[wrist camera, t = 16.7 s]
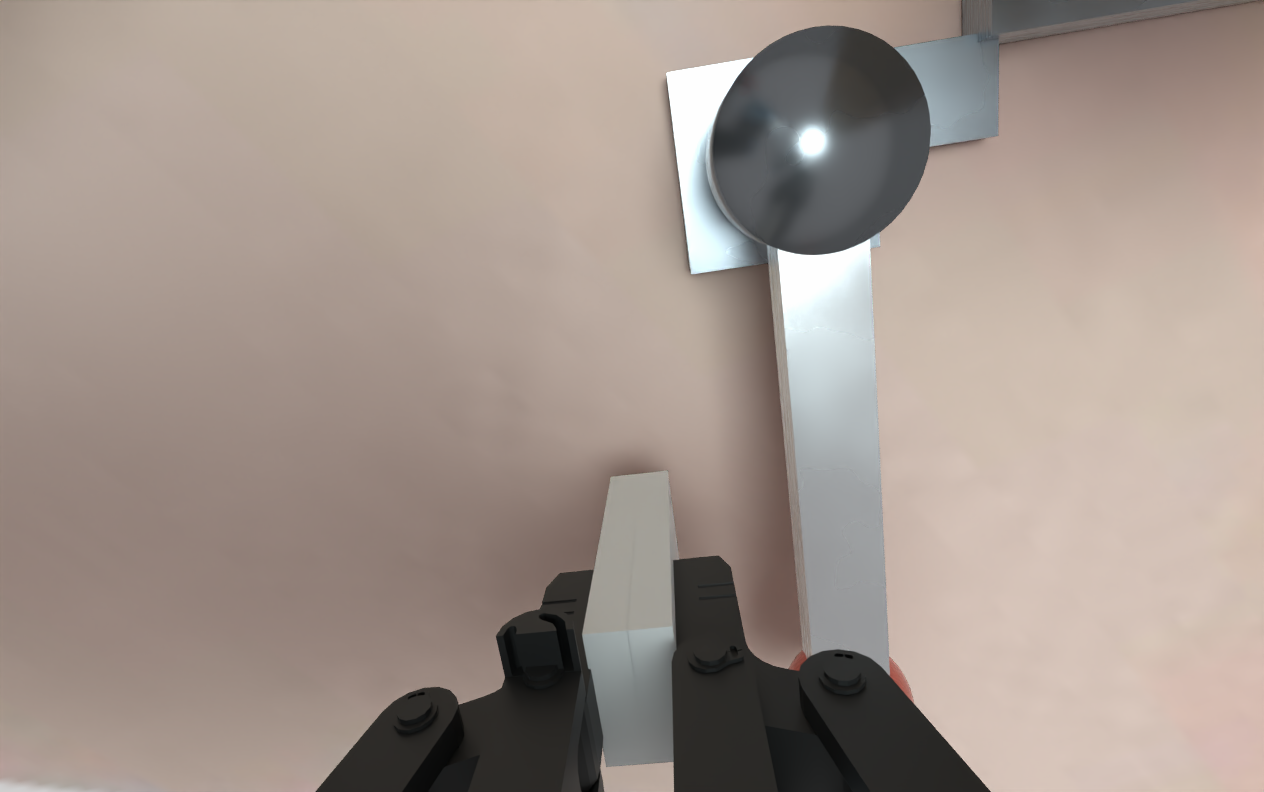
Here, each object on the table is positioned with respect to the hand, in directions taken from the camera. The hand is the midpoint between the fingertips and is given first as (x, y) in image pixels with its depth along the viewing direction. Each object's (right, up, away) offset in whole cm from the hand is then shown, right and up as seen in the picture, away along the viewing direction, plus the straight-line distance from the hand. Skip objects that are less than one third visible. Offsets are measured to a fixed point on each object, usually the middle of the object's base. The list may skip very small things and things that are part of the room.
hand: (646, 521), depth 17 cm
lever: (+4, +3, -1) cm, 5 cm away
